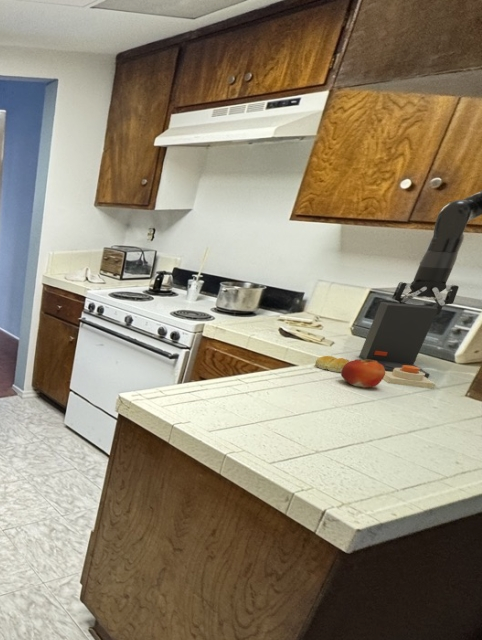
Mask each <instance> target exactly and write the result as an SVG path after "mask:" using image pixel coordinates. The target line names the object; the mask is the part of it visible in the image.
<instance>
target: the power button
mask: <svg viewBox="0 0 482 640" xmlns="http://www.w3.org/2000/svg"><path fill="white" fill-rule="evenodd" d="M415 366H416V365H415ZM415 366H410V365H403V366H402V369H401V371H404V372H408V373H415V374H418V371H419V369H421V368H420V367H418V366H417V367H415Z"/></svg>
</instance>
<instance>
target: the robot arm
mask: <svg viewBox="0 0 482 640" xmlns="http://www.w3.org/2000/svg"><path fill="white" fill-rule="evenodd" d="M480 216H482V190H480V191H478V192H476V193H474V194H472V195H469V196H468V197H465V198H463V199H457V200H453V201H450V202H448V203H446V204H445V205H444V206H443V207H442V208H441V209H440V210H439V212H438V215H437V217H436V221H435V224H434V229H433V234H432V237H431V239H430V241H429V244H428V246H427V248H426V251H425V253H424V254H423V256H422V258H421V261H420V262H419V264H418V265H419V266H418V268H417V270H416V273H415V275H414V277H413V280H412V282H410V283H409V282H404V281H400V282H398V284H397V286H396V287H395V290H394V293H393V295H392V296H391V299H392V300H394V301H397V303H400V304H407V302H408V301H410V300H411V299H414V298H415V297H418V298H429V299H431V298H432V299H433V300H434V302H435V304H434V305H433V307H434V308H437V309H438V311H437V313H436V315H435V317H437V316H440V314H441V311H442V309H443V308H444V306H445V305H452V304H453V303H454V301H455V299H456V296H457V293H458V291H459V286H458V285H457V284H451V285H450V284H449V285H448V284H447V282H448V281H449V278H450V275H451V273H452V270H453V268H454V266H455V264H456V262H457V259H458V254H459V252H460V250H461V247H462V246H463V245H462V244H463V242H464V240H465V235H464V233H465V232H464V231H465V230H466V227H467V224H468V223H469V222H470V221H472V220H474V219H476V218H478V217H480ZM408 288H409V289H410V290H409V291H408V292H406V293H405V294H404V291H405V290H407V289H408ZM444 290H445V291H446V292H447V293H446V296H445V299H444V298H443V295H442V294H441V293H442V292H443V291H444ZM403 294H404V295H403Z"/></svg>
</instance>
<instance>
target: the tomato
mask: <svg viewBox="0 0 482 640" xmlns="http://www.w3.org/2000/svg"><path fill="white" fill-rule="evenodd" d="M340 376H341V377H342V379H344V381H346V383H348V384H349V385H351V386H354V387H359V388H364V389H365V388H367V389H368V388H374V387H377V386H378V385H379V384H380V383H381V382H382V381H383V377H384V376H385V369H384V367H383V365H382V364H380V363H378V362H377V361H374V360H370V359H367V360H363V359H361V358H360V359H353V360H349V362H348V363H347V364H345V366H344V367H343V369H342V371H341V372H340Z"/></svg>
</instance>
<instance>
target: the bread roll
mask: <svg viewBox="0 0 482 640" xmlns="http://www.w3.org/2000/svg"><path fill="white" fill-rule="evenodd" d="M348 362H350V360H348V359H346V358H343V357H339V358H337V357H335V356H332V355H323V356H320V357H317V359H316V360H315V363H314V365H315V366H316V367H317V368H319V369H320V370H328V371H329V372H334V373H341V371H342V369H343V367H344V366H345V364H347V363H348Z"/></svg>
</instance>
